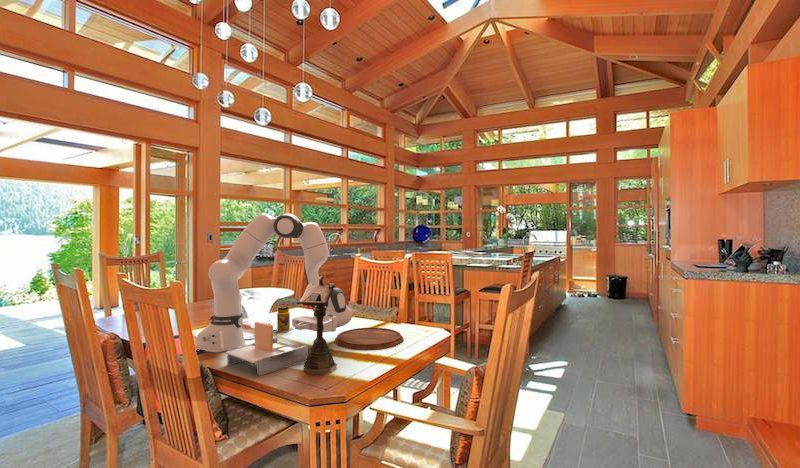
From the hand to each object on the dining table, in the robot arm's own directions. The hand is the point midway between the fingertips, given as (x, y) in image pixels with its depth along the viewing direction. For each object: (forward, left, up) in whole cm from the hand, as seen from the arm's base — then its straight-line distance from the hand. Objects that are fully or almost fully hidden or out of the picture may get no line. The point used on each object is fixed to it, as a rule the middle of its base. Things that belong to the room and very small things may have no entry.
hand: (297, 327), depth 167 cm
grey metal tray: (-7, -12, -11) cm, 18 cm away
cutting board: (+26, +23, -11) cm, 37 cm away
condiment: (-22, +36, -11) cm, 44 cm away
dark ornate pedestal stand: (+16, -20, -11) cm, 27 cm away
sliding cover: (-11, -18, -6) cm, 22 cm away
